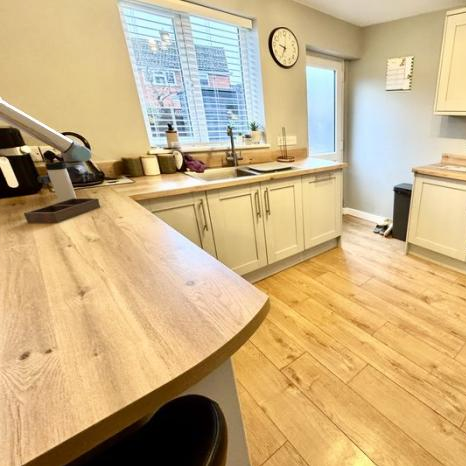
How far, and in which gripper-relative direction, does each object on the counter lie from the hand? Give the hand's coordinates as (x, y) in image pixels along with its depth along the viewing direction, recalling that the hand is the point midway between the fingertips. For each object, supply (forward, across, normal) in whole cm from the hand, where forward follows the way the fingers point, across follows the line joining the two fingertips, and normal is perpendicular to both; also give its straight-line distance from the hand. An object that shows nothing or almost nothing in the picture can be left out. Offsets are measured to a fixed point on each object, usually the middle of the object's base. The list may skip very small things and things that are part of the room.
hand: (63, 180), depth 132 cm
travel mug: (+4, 0, -11) cm, 12 cm away
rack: (+22, -2, -11) cm, 24 cm away
